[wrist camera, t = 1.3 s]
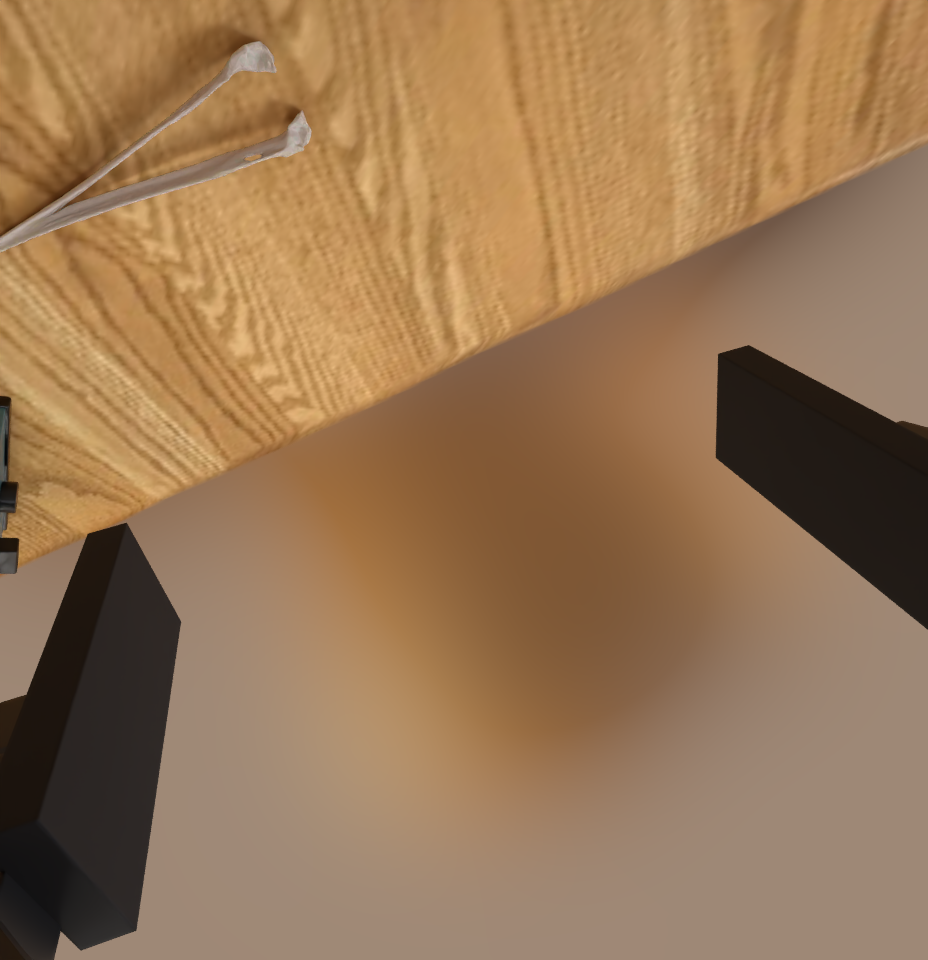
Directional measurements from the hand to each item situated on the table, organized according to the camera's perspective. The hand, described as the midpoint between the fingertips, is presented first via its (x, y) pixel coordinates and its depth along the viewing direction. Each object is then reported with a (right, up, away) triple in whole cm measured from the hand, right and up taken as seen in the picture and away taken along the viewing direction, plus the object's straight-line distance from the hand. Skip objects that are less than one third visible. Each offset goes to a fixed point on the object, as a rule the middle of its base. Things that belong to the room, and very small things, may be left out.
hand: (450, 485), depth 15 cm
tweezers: (-15, +14, +16) cm, 26 cm away
